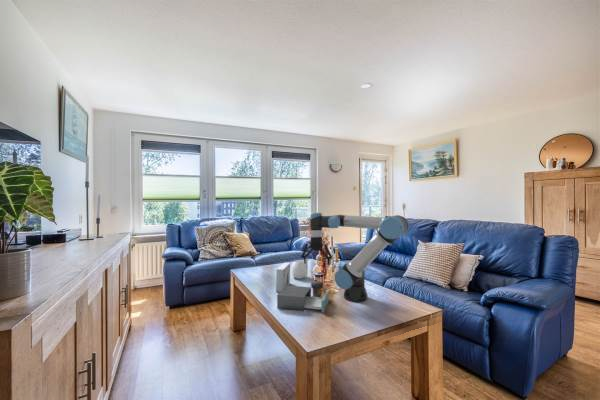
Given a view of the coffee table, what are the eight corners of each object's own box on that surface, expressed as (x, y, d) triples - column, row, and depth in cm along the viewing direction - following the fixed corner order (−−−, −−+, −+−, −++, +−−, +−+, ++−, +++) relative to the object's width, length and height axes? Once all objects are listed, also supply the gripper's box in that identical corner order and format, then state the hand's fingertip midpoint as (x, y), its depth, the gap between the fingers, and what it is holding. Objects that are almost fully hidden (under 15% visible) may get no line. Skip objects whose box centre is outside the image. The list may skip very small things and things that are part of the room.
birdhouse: (328, 301, 165) (328, 290, 165) (323, 312, 148) (323, 300, 148) (304, 299, 169) (304, 288, 169) (297, 310, 152) (296, 298, 152)
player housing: (310, 299, 168) (310, 287, 168) (303, 311, 151) (303, 297, 151) (287, 297, 173) (286, 285, 173) (277, 308, 155) (277, 294, 155)
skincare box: (283, 292, 183) (283, 269, 183) (275, 292, 184) (275, 269, 184) (290, 283, 203) (290, 262, 203) (283, 282, 204) (283, 262, 204)
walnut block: (321, 296, 174) (321, 285, 174) (319, 299, 170) (319, 288, 170) (314, 296, 175) (314, 285, 175) (313, 298, 171) (313, 287, 171)
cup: (291, 275, 223) (291, 259, 223) (306, 275, 224) (306, 259, 224) (292, 280, 210) (292, 263, 210) (309, 279, 211) (308, 262, 211)
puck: (323, 285, 175) (323, 281, 175) (321, 289, 168) (321, 285, 168) (312, 284, 177) (312, 280, 177) (310, 288, 170) (310, 284, 170)
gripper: (336, 236, 173) (336, 268, 173) (299, 235, 179) (299, 266, 179) (334, 237, 165) (335, 271, 165) (296, 236, 172) (296, 269, 172)
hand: (316, 269), depth 172 cm, fingers open, 13 cm apart
